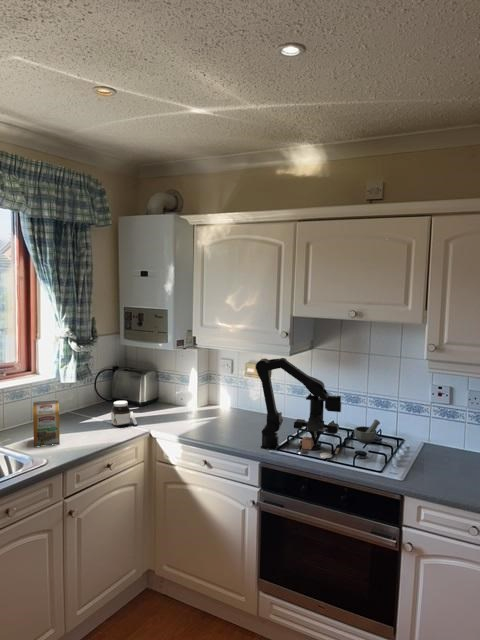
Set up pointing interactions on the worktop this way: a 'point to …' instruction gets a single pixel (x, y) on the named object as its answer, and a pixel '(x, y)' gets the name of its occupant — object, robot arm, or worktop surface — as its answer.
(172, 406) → the worktop surface
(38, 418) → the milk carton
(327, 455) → the ceramic puck
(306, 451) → the steel puck
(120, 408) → the spread jar
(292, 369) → the robot arm
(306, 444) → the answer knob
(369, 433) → the mortar and pestle
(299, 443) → the selector rail
